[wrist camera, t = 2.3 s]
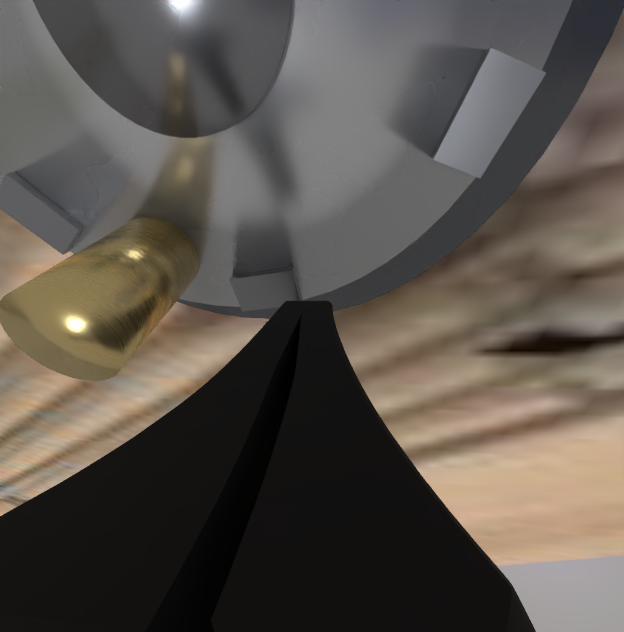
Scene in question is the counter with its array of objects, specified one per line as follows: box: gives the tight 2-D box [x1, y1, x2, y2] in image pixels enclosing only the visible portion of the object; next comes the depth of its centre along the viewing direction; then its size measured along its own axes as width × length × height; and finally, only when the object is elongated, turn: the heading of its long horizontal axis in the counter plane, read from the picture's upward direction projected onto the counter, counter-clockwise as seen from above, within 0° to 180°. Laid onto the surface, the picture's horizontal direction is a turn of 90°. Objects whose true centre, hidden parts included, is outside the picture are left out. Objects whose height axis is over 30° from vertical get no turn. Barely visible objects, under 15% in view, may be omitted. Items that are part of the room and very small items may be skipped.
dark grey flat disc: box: [177, 0, 624, 319], centre depth 8 cm, size 20×20×1 cm
